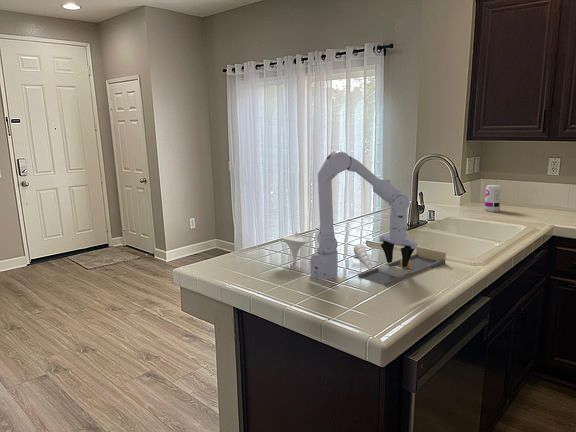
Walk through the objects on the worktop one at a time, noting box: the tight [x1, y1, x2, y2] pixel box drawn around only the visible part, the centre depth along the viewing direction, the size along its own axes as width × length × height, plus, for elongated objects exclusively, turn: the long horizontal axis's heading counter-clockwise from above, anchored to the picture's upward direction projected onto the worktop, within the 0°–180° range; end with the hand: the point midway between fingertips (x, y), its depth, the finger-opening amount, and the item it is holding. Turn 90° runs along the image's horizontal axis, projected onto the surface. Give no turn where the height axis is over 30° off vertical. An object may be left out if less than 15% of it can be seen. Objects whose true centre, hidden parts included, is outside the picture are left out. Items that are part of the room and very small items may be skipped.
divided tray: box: [357, 245, 447, 287], centre depth 159 cm, size 36×12×8 cm, turn 130°
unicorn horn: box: [353, 243, 373, 270], centre depth 169 cm, size 5×24×5 cm, turn 0°
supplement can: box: [483, 184, 502, 213], centre depth 258 cm, size 8×8×15 cm
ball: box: [400, 258, 411, 269], centre depth 159 cm, size 4×4×4 cm
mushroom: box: [280, 231, 308, 263], centre depth 172 cm, size 10×11×12 cm
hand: (397, 264), depth 156 cm, fingers open, 6 cm apart
